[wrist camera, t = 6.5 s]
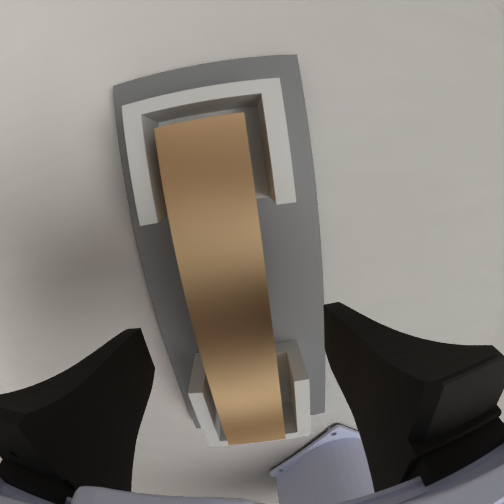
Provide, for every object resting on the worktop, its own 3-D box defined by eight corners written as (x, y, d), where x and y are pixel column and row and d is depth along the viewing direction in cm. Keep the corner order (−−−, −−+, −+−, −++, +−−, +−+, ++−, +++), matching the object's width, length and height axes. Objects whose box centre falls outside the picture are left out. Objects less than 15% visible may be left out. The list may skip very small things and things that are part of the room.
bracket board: (321, 403, 21) (336, 448, 17) (197, 419, 21) (191, 465, 17) (293, 60, 14) (313, 26, 10) (119, 89, 14) (81, 69, 10)
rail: (277, 393, 18) (285, 438, 14) (229, 399, 18) (228, 445, 14) (242, 125, 13) (244, 112, 10) (176, 137, 13) (154, 128, 10)
